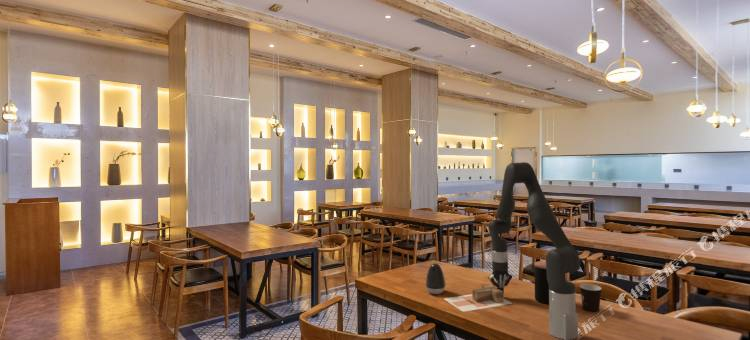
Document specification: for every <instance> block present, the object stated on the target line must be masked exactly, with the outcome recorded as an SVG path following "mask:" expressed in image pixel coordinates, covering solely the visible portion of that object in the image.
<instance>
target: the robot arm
mask: <svg viewBox="0 0 750 340" xmlns="http://www.w3.org/2000/svg"><path fill="white" fill-rule="evenodd" d="M516 184H524V185H525V188H526V190H527V192H528V196H527V201H526V211H527V214H528V216H529V218H530V221H531V222H532V225H533V226H534V227H535V228H536V229H537V230H538V231H540V232H541V233H542V234H543V235H544V236H545V237H547V239H549V241H550V242H551V243H552V244H553V245H554V247H555V249H550V250H548V252H547V253H546V257H545V261H546V271H547V281H548V284H549V305H548V307H549V308H548V312H549V313H548V315H549V316H548V317H549V321H548V325H549V334H550V335H551V336H553V337H554V338H557V339H561V340H574V339H578V338H579V313H578V312H576V284H575V283H573V282H572V281H569V280H567V279H566V274H569V273H570V274H571V273H575V272H578V271H579V270H580V268H581V259H580V256H579V254H578V252H577V251H576V249H575V248H574V246H573V244H572V242H571V241H570V240H569V238H568V236H567V235H566V234H565V232H564V230H563V228H562V226H561V225H560V223H559V221H558V219H557V217H556V215H555V213H554V211H553V208H552V207H551V205H550V203H549V202H548V200H547V198H546V196H545V193H544V191H543V190H542V188H541V185H540V183H539V181H538V178H537V175H536V172H535V170H534V168H533V166H532V164H531V163H529V162H511V163H508V165H506V167H505V170H504V174H503V181H502V188H501V190H502V191H501V195H500V200H499V204H498V206H497V208H496V212H495V213H496V217H497V218H498V219H492V220H490V221H489V222H488V225H487V227H488V231H489V235H490V239H491V242H492V244H491V246H492V254H491V269H492V273H491V275H490V276H488V277H487V278H488V280H489V281H490V283H491V284H492V286H493V287H495V288H497V289H499V290H501V291H503V292H504V293H505V289H504V288H505V287H507V286H508V285H509V283H510V281H511V280H512V278H513V275H512V274H510V273H509V253H508V241H507V239H506V238H503V237H500V236H499V235H503V234H504V235H505V234H508V233H509V232H510V231H511V230H512V215H513V213H514V211H515V210H514V209H515V207H516V201H515V197H514V194H513V188H514V186H515V185H516Z"/></svg>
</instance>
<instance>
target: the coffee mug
mask: <svg viewBox="0 0 750 340" xmlns="http://www.w3.org/2000/svg"><path fill="white" fill-rule="evenodd" d="M579 290H580V298H581V306H582V309H583V310H584V311H585V312H588V313H589V312H590V313H598V312H599V311H600V305H601V298H602V297H601V296H602V290H603V289H602V287H601V286H598V285H596V284H590V283H589V284H587V283H585V284H584V283H583V284H580V285H579Z"/></svg>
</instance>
